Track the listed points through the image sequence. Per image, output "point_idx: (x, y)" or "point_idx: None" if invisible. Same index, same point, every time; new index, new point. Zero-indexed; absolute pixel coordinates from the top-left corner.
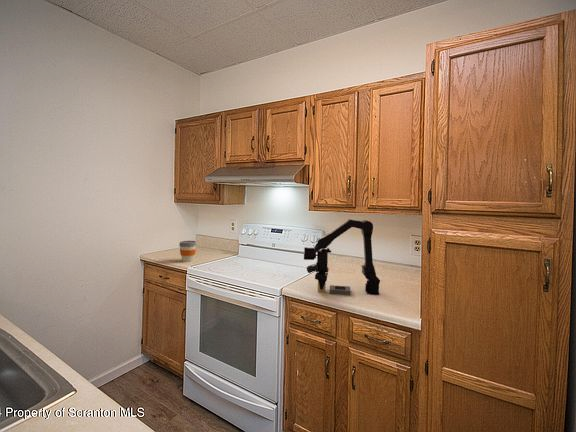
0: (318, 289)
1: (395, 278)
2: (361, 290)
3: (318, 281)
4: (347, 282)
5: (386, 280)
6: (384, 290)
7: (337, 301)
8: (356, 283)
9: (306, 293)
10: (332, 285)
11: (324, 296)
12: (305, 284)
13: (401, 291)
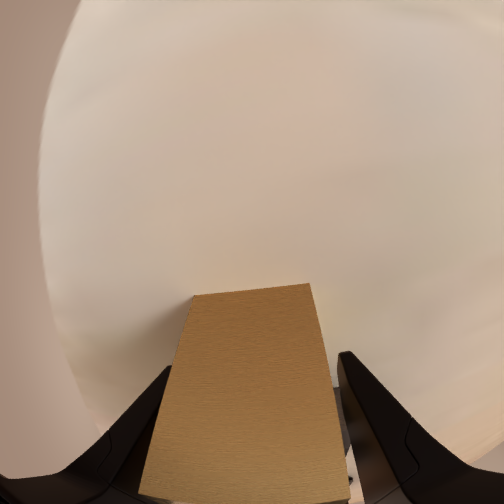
0: (188, 332)
1: (475, 454)
2: (351, 470)
3: (153, 459)
4: (492, 398)
5: (466, 454)
6: (359, 488)
7: (95, 417)
8: (464, 427)
9: (63, 160)
10: (348, 438)
11: (109, 365)
12: (487, 50)
13: (352, 498)
